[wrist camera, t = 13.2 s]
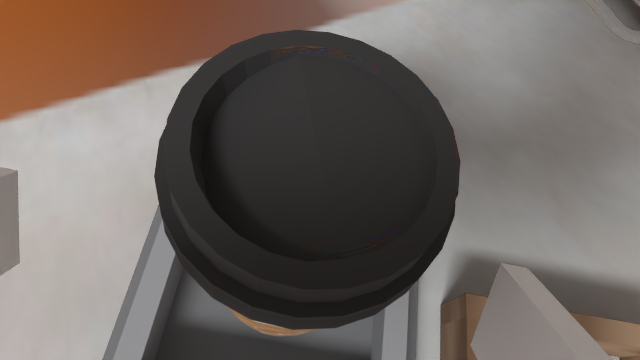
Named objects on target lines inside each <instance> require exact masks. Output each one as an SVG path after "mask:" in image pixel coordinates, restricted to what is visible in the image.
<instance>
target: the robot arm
mask: <svg viewBox="0 0 640 360" xmlns="http://www.w3.org/2000/svg"><path fill="white" fill-rule="evenodd" d="M19 263H20V258H19V213H18V171H17V170H12V169H6V168H1V167H0V276H1V275H2V274H4V273H5V272H7V271H8V270H10V269H11V268H13V267H14V266H16V265H17V264H19ZM470 346H471V348H472V350H473V352H474V354H475V356H476V358H477V360H613V359H612V358H611V357H610V356H609V355H608V354H607V353H606V352H605V351H604V350H603V349H602V348H601V346H600V345H599V344H598V343H597V342H596V341H595V340H594V339H593V338H592V337H591V336H590V335H589V334H588V332H587V331H586V330H585V329H584V328H583V327H582V326H581V325H580V324H579V323H578V322H577V321H576V320H575V318H574V317H573V316H572V315H571V314H570V313H569V312H568V311H567V310H566V309H565V308H564V307H563V306H562V304H561V303H560V302H559V301H558V300H557V299H556V298H555V297H554V296H553V295H552V294H551V293H550V292H549V290H548V289H547V288H546V287H545V286H544V285H543V284H542V283H541V282H540V281H539V280H538V279H537V278H536V276H535V275H534V274H533V273H532V272H531V271H530V270H529V269H528V268H526V267H521V266H515V265H510V264H505V263H500V266H499V268H498V271H497V274H496V276H495V279H494V282H493V285H492V287H491V290H490V293H489V296H488V298H487V301H486V304H485V307H484V309H483V312H482V315H481V318H480V320H479V323H478V326H477V328H476V331H475V334H474V337H473V339H472V342H471V345H470Z"/></svg>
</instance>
